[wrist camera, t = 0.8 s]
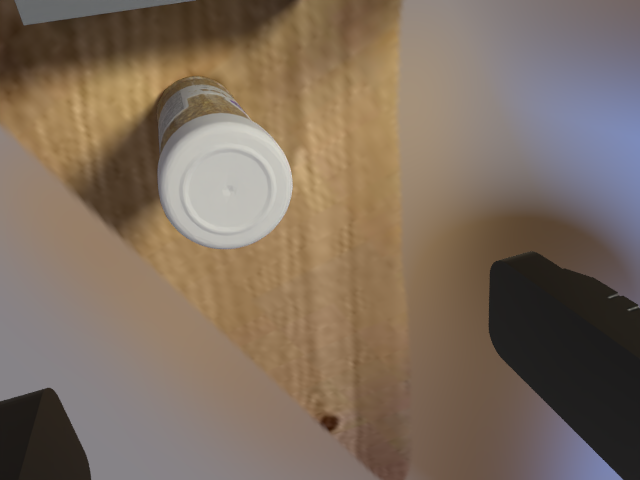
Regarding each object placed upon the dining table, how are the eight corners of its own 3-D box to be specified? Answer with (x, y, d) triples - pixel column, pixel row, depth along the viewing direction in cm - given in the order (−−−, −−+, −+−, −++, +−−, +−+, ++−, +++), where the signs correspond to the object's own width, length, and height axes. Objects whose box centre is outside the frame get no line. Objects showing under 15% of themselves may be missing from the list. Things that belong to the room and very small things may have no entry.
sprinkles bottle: (252, 104, 29) (321, 169, 18) (210, 170, 30) (249, 274, 18) (181, 56, 27) (206, 94, 16) (138, 128, 28) (130, 215, 16)
